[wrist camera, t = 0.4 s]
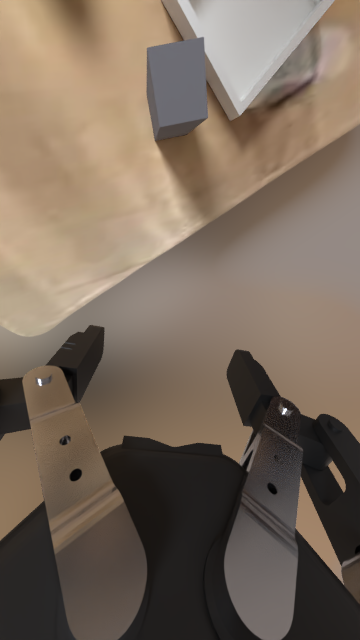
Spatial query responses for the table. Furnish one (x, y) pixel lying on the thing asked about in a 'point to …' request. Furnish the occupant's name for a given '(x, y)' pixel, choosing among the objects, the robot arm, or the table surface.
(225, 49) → the tray
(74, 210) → the table surface
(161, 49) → the handle block
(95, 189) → the table surface
